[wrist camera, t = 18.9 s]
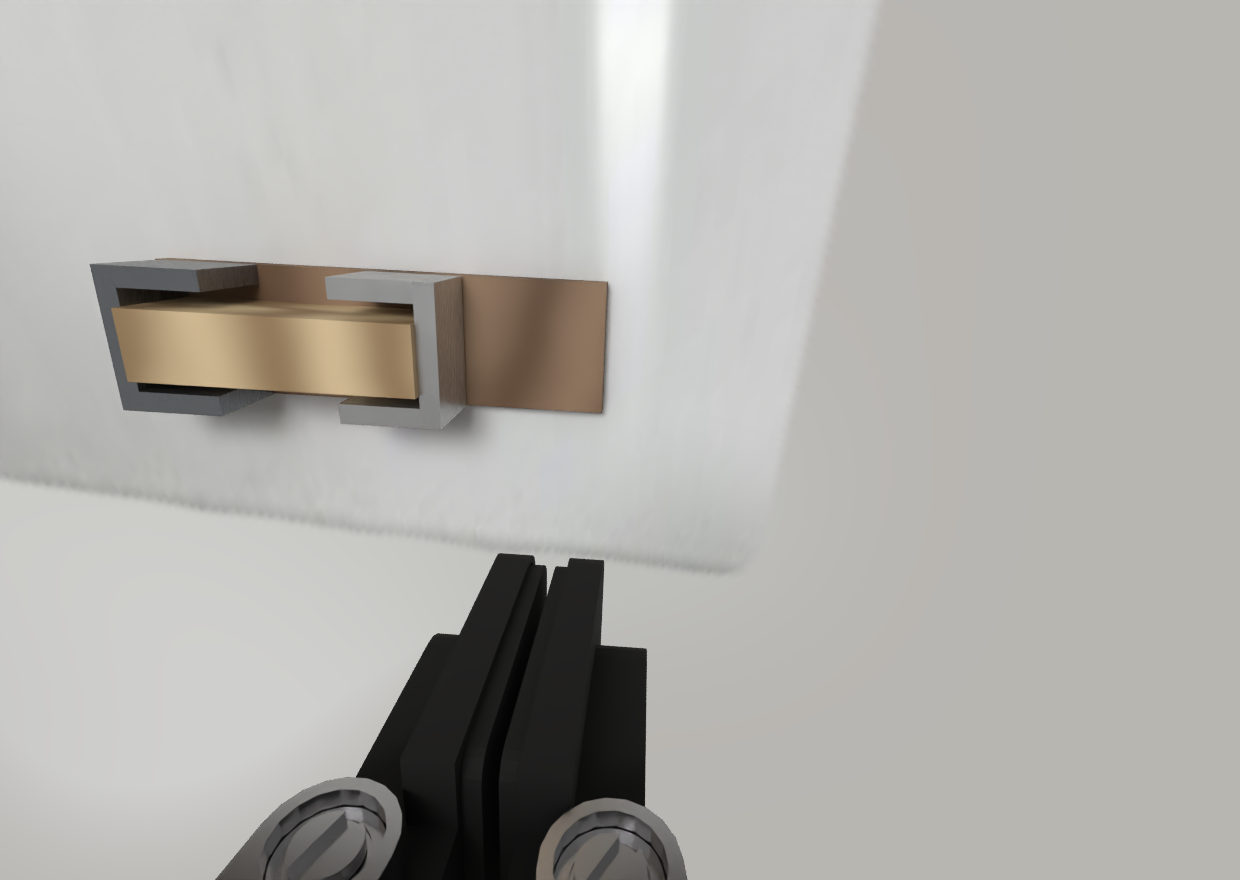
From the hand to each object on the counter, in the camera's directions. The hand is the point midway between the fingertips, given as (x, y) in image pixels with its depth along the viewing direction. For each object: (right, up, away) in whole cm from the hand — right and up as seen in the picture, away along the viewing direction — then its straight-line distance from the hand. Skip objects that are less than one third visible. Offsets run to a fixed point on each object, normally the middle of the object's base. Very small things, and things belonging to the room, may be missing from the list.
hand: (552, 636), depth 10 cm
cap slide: (-10, +8, +23) cm, 26 cm away
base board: (-12, +9, +24) cm, 28 cm away
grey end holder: (-21, +9, +23) cm, 33 cm away
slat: (-15, +9, +23) cm, 29 cm away
